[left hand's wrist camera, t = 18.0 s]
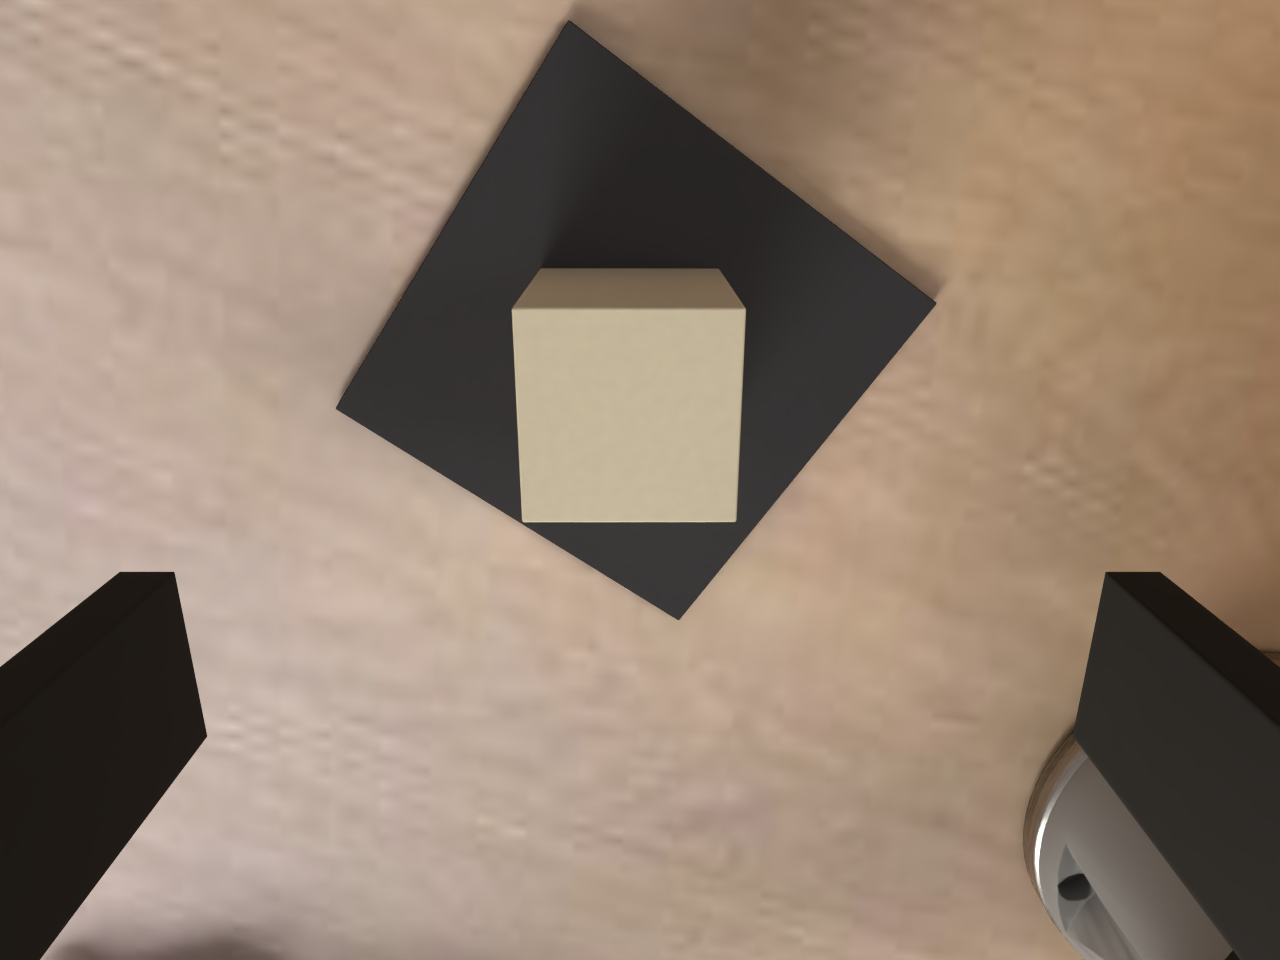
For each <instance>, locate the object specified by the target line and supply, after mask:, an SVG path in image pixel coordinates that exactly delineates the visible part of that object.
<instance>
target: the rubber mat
mask: <svg viewBox="0 0 1280 960" xmlns="http://www.w3.org/2000/svg"><path fill="white" fill-rule="evenodd" d="M541 268H667V269H719V270H720V271H721V273H722V274H723V276H724V277H725V279H726V280H727V282H728V283H729V285H730V286H731V288H732V289H733V291H734V292H735V294H736V295H737V296H738V298H739V299H740V301H741V302H742V304H743V305H744V307H745V309H746V321H745V343H744V365H743V387H742V409H741V430H740V452H739V474H738V496H737V518H736V522H523V521H522V508H521V487H520V467H519V447H518V427H517V406H516V386H515V366H514V345H513V325H512V308H513V306H514V305H515V303H516V302H517V301H518V299H519V298H520V297H521V295H522V294H523V292H524V291H525V290H526V288H527V287H528V285H529V284H530V283H531V281H532V280H533V279H534V277H535V276H536V274H537V273H538V272H539V270H540V269H541ZM935 305H936V302H935V301H933V300H932V299H931V298H929V297H928V296H927V295H926V294H924V293H923V292H922V291H920V290H919V289H918V288H916V287H915V286H914V285H913V284H911V283H910V282H909V281H907V280H906V279H905V278H903V277H902V276H901V275H900V274H898V273H897V272H896V271H894V270H893V269H892V268H890V267H889V266H888V265H887V264H885V263H884V262H883V261H881V260H880V259H879V258H877V257H876V256H875V255H874V254H872V253H871V252H870V251H868V250H867V249H866V248H864V247H863V246H862V245H861V244H859V243H858V242H857V241H855V240H854V239H853V238H852V237H850V236H849V235H848V234H846V233H845V232H844V231H842V230H841V229H840V228H839V227H837V226H836V225H835V224H833V223H832V222H831V221H829V220H828V219H827V218H826V217H824V216H823V215H822V214H820V213H819V212H818V211H816V210H815V209H814V208H813V207H811V206H810V205H809V204H807V203H806V202H805V201H803V200H802V199H801V198H800V197H798V196H797V195H796V194H794V193H793V192H792V191H790V190H789V189H788V188H787V187H785V186H784V185H783V184H781V183H780V182H779V181H777V180H776V179H775V178H774V177H772V176H771V175H770V174H768V173H767V172H766V171H764V170H763V169H762V168H761V167H759V166H758V165H757V164H755V163H754V162H753V161H751V160H750V159H749V158H748V157H746V156H745V155H744V154H742V153H741V152H740V151H738V150H737V149H736V148H735V147H733V146H732V145H731V144H729V143H728V142H727V141H725V140H724V139H723V138H722V137H720V136H719V135H718V134H716V133H715V132H714V131H712V130H711V129H710V128H709V127H707V126H706V125H705V124H703V123H702V122H701V121H699V120H698V119H697V118H696V117H694V116H693V115H692V114H690V113H689V112H688V111H687V110H685V109H684V108H683V107H681V106H680V105H679V104H677V103H676V102H675V101H674V100H672V99H671V98H670V97H668V96H667V95H666V94H664V93H663V92H662V91H661V90H659V89H658V88H657V87H655V86H654V85H653V84H651V83H650V82H649V81H648V80H646V79H645V78H644V77H642V76H641V75H640V74H638V73H637V72H636V71H635V70H633V69H632V68H631V67H629V66H628V65H627V64H625V63H624V62H623V61H622V60H620V59H619V58H618V57H616V56H615V55H614V54H612V53H611V52H610V51H609V50H607V49H606V48H605V47H603V46H602V45H601V44H599V43H598V42H597V41H596V40H594V39H593V38H592V37H590V36H589V35H588V34H586V33H585V32H584V31H583V30H581V29H580V28H579V27H577V26H576V25H575V24H573V23H572V22H571V21H568V22H567V24H566V25H565V27H564V29H563V30H562V32H561V34H560V35H559V37H558V39H557V40H556V42H555V44H554V45H553V47H552V49H551V50H550V52H549V54H548V55H547V57H546V59H545V60H544V62H543V64H542V65H541V67H540V69H539V70H538V72H537V74H536V75H535V77H534V79H533V80H532V82H531V84H530V85H529V87H528V89H527V90H526V92H525V94H524V95H523V97H522V99H521V100H520V102H519V104H518V105H517V107H516V109H515V110H514V112H513V114H512V115H511V117H510V119H509V120H508V122H507V124H506V125H505V127H504V129H503V130H502V132H501V134H500V135H499V137H498V139H497V140H496V142H495V144H494V145H493V147H492V149H491V150H490V152H489V154H488V155H487V157H486V159H485V160H484V162H483V164H482V165H481V167H480V169H479V170H478V172H477V174H476V175H475V177H474V179H473V180H472V182H471V184H470V185H469V187H468V189H467V190H466V192H465V194H464V195H463V197H462V199H461V200H460V202H459V204H458V205H457V207H456V209H455V210H454V212H453V214H452V215H451V217H450V219H449V220H448V222H447V224H446V225H445V227H444V229H443V230H442V232H441V234H440V235H439V237H438V239H437V240H436V242H435V244H434V245H433V247H432V249H431V250H430V252H429V254H428V255H427V257H426V259H425V260H424V262H423V264H422V265H421V267H420V269H419V270H418V272H417V274H416V275H415V277H414V279H413V280H412V282H411V284H410V285H409V287H408V289H407V290H406V292H405V294H404V295H403V297H402V299H401V300H400V302H399V304H398V305H397V307H396V309H395V310H394V312H393V314H392V315H391V317H390V319H389V320H388V322H387V324H386V325H385V327H384V329H383V330H382V332H381V334H380V335H379V337H378V339H377V340H376V342H375V344H374V345H373V347H372V349H371V350H370V352H369V354H368V355H367V357H366V359H365V360H364V362H363V364H362V365H361V367H360V369H359V370H358V372H357V374H356V375H355V377H354V379H353V380H352V382H351V384H350V385H349V387H348V389H347V390H346V392H345V394H344V395H343V397H342V399H341V400H340V402H339V404H338V405H337V407H336V409H337V410H338V411H340V412H342V413H343V414H345V415H347V416H348V417H350V418H351V419H353V420H355V421H356V422H358V423H360V424H361V425H363V426H364V427H366V428H368V429H369V430H371V431H372V432H374V433H376V434H377V435H379V436H381V437H382V438H384V439H385V440H387V441H389V442H390V443H392V444H394V445H395V446H397V447H398V448H400V449H402V450H403V451H405V452H407V453H408V454H410V455H411V456H413V457H415V458H416V459H418V460H420V461H421V462H423V463H424V464H426V465H428V466H429V467H431V468H432V469H434V470H436V471H437V472H439V473H441V474H442V475H444V476H445V477H447V478H449V479H450V480H452V481H454V482H455V483H457V484H458V485H460V486H462V487H463V488H465V489H467V490H468V491H470V492H471V493H473V494H475V495H476V496H478V497H479V498H481V499H483V500H484V501H486V502H488V503H489V504H491V505H492V506H494V507H496V508H497V509H499V510H501V511H502V512H504V513H505V514H507V515H509V516H510V517H512V518H514V519H515V520H517V521H518V522H520V523H522V524H523V525H525V526H526V527H528V528H530V529H531V530H533V531H535V532H536V533H538V534H539V535H541V536H543V537H544V538H546V539H548V540H549V541H551V542H552V543H554V544H556V545H557V546H559V547H561V548H562V549H564V550H565V551H567V552H569V553H570V554H572V555H574V556H575V557H577V558H578V559H580V560H582V561H583V562H585V563H586V564H588V565H590V566H591V567H593V568H595V569H596V570H598V571H599V572H601V573H603V574H604V575H606V576H608V577H609V578H611V579H612V580H614V581H616V582H617V583H619V584H621V585H622V586H624V587H625V588H627V589H629V590H630V591H632V592H633V593H635V594H637V595H638V596H640V597H642V598H643V599H645V600H646V601H648V602H650V603H651V604H653V605H655V606H656V607H658V608H659V609H661V610H663V611H664V612H666V613H668V614H669V615H671V616H672V617H674V618H676V619H677V620H679V619H680V618H681V617H682V616H683V615H684V613H685V612H686V611H687V610H688V608H689V607H690V606H691V605H692V603H693V602H694V601H695V600H696V599H697V597H698V596H699V595H700V594H701V592H702V591H703V590H704V589H705V587H706V586H707V585H708V584H709V583H710V581H711V580H712V579H713V578H714V576H715V575H716V574H717V573H718V572H719V570H720V569H721V568H722V567H723V565H724V564H725V563H726V562H727V560H728V559H729V558H730V557H731V556H732V554H733V553H734V552H735V551H736V549H737V548H738V547H739V546H740V544H741V543H742V542H743V541H744V540H745V538H746V537H747V536H748V535H749V533H750V532H751V531H752V530H753V529H754V527H755V526H756V525H757V524H758V522H759V521H760V520H761V519H762V517H763V516H764V515H765V514H766V513H767V511H768V510H769V509H770V508H771V506H772V505H773V504H774V503H775V501H776V500H777V499H778V498H779V497H780V495H781V494H782V493H783V492H784V490H785V489H786V488H787V487H788V486H789V484H790V483H791V482H792V481H793V479H794V478H795V477H796V476H797V474H798V473H799V472H800V471H801V470H802V468H803V467H804V466H805V465H806V463H807V462H808V461H809V460H810V458H811V457H812V456H813V455H814V454H815V452H816V451H817V450H818V449H819V447H820V446H821V445H822V444H823V443H824V441H825V440H826V439H827V438H828V436H829V435H830V434H831V433H832V431H833V430H834V429H835V428H836V427H837V425H838V424H839V423H840V422H841V420H842V419H843V418H844V417H845V415H846V414H847V413H848V412H849V411H850V409H851V408H852V407H853V406H854V404H855V403H856V402H857V401H858V400H859V398H860V397H861V396H862V395H863V393H864V392H865V391H866V390H867V388H868V387H869V386H870V385H871V384H872V382H873V381H874V380H875V379H876V377H877V376H878V375H879V374H880V372H881V371H882V370H883V369H884V368H885V366H886V365H887V364H888V363H889V361H890V360H891V359H892V358H893V357H894V355H895V354H896V353H897V352H898V350H899V349H900V348H901V347H902V345H903V344H904V343H905V342H906V341H907V339H908V338H909V337H910V336H911V334H912V333H913V332H914V331H915V329H916V328H917V327H918V326H919V325H920V323H921V322H922V321H923V320H924V318H925V317H926V316H927V315H928V314H929V312H930V311H931V310H932V309H933V307H934V306H935Z"/></svg>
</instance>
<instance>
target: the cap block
mask: <svg viewBox="0 0 1280 960" xmlns="http://www.w3.org/2000/svg"><path fill="white" fill-rule="evenodd" d="M745 321H746V309H745V307H744V305H743V304H742V302H741V301H740V299H739V298H738V296H737V295H736V294H735V292H734V291H733V289H732V288H731V286H730V285H729V283H728V282H727V280H726V279H725V277H724V276H723V274H722V273H721V271H720V270H719V269H667V268H541V269H540V270H539V272H538V273H537V274H536V276H535V277H534V279H533V280H532V281H531V283H530V284H529V285H528V287H527V288H526V290H525V291H524V292H523V294H522V295H521V297H520V298H519V299H518V301H517V302H516V303H515V305H514V306H513V308H512V325H513V345H514V366H515V386H516V406H517V427H518V447H519V467H520V487H521V508H522V521H523V522H736V518H737V496H738V474H739V452H740V430H741V409H742V387H743V365H744V343H745Z"/></svg>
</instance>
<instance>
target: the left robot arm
mask: <svg viewBox="0 0 1280 960" xmlns="http://www.w3.org/2000/svg"><path fill="white" fill-rule="evenodd" d="M206 737H207V733H206V728H205V723H204V718H203V713H202V708H201V703H200V698H199V693H198V688H197V683H196V678H195V673H194V668H193V663H192V658H191V653H190V648H189V643H188V638H187V633H186V628H185V623H184V618H183V613H182V608H181V603H180V598H179V593H178V588H177V583H176V578H175V573H174V572H119V573H118V574H117V575H115V576H114V577H113V578H112V579H110V580H109V581H108V582H107V583H105V584H104V585H103V586H102V587H100V588H99V589H98V590H97V591H95V592H94V593H93V594H92V595H90V596H89V597H88V598H87V599H85V600H84V601H83V602H82V603H80V604H79V605H78V606H76V607H75V608H74V609H73V610H71V611H70V612H69V613H68V614H66V615H65V616H64V617H63V618H61V619H60V620H59V621H58V622H56V623H55V624H54V625H53V626H51V627H50V628H49V629H48V630H46V631H45V632H44V633H43V634H41V635H40V636H39V637H37V638H36V639H35V640H34V641H32V642H31V643H30V644H29V645H27V646H26V647H25V648H24V649H22V650H21V651H20V652H19V653H17V654H16V655H15V656H14V657H12V658H11V659H10V660H9V661H7V662H6V663H5V664H4V665H2V666H1V667H0V960H40V959H41V957H42V956H43V955H44V953H45V952H46V951H47V949H48V948H49V947H50V945H51V944H52V943H53V941H54V940H55V939H56V937H57V936H58V935H59V933H60V932H61V931H62V929H63V928H64V927H65V925H66V924H67V923H68V921H69V920H70V919H71V917H72V916H73V915H74V913H75V912H76V911H77V909H78V908H79V907H80V905H81V904H82V903H83V901H84V900H85V899H86V897H87V896H88V895H89V893H90V892H91V891H92V889H93V888H94V887H95V885H96V884H97V883H98V881H99V880H100V879H101V877H102V876H103V875H104V873H105V872H106V871H107V869H108V868H109V867H110V865H111V864H112V863H113V861H114V860H115V859H116V857H117V856H118V855H119V853H120V852H121V851H122V849H123V848H124V847H125V845H126V844H127V843H128V841H129V840H130V839H131V837H132V836H133V835H134V833H135V832H136V831H137V829H138V828H139V827H140V825H141V824H142V823H143V821H144V820H145V819H146V817H147V816H148V815H149V813H150V812H151V811H152V809H153V808H154V807H155V805H156V804H157V803H158V801H159V800H160V799H161V797H162V796H163V795H164V793H165V792H166V791H167V789H168V788H169V787H170V785H171V784H172V783H173V781H174V780H175V779H176V777H177V776H178V775H179V773H180V772H181V771H182V769H183V768H184V767H185V765H186V764H187V763H188V761H189V760H190V759H191V757H192V756H193V755H194V753H195V752H196V751H197V749H198V748H199V747H200V745H201V744H202V743H203V741H204V740H205V739H206ZM1023 848H1024V858H1025V862H1026V867H1027V871H1028V873H1029V876H1030V879H1031V881H1032V884H1033V886H1034V888H1035V889H1036V891H1037V893H1038V895H1039V897H1040V899H1041V901H1042V902H1043V904H1044V906H1045V908H1046V910H1047V912H1048V914H1049V915H1050V917H1051V919H1052V921H1053V922H1054V924H1055V925H1056V926H1057V928H1058V929H1059V931H1060V932H1061V933H1062V934H1063V935H1064V937H1065V938H1066V939H1067V941H1068V942H1069V943H1070V945H1071V946H1072V947H1073V948H1074V949H1075V951H1076V952H1077V953H1078V954H1079V955H1080V956H1081V957H1082V958H1083V959H1084V960H1280V654H1279V653H1261V652H1260V651H1259V650H1258V649H1256V648H1255V647H1254V646H1253V645H1251V644H1250V643H1249V642H1248V641H1246V640H1245V639H1244V638H1243V637H1241V636H1240V635H1239V634H1237V633H1236V632H1235V631H1234V630H1232V629H1231V628H1230V627H1229V626H1227V625H1226V624H1225V623H1224V622H1222V621H1221V620H1220V619H1219V618H1217V617H1216V616H1215V615H1214V614H1212V613H1211V612H1210V611H1209V610H1207V609H1206V608H1205V607H1204V606H1202V605H1201V604H1200V603H1198V602H1197V601H1196V600H1195V599H1193V598H1192V597H1191V596H1190V595H1188V594H1187V593H1186V592H1185V591H1183V590H1182V589H1181V588H1180V587H1178V586H1177V585H1176V584H1175V583H1173V582H1172V581H1171V580H1170V579H1168V578H1167V577H1166V576H1165V575H1163V574H1162V573H1161V572H1106V573H1105V578H1104V583H1103V588H1102V593H1101V598H1100V603H1099V608H1098V613H1097V618H1096V623H1095V628H1094V633H1093V638H1092V643H1091V648H1090V653H1089V658H1088V663H1087V668H1086V673H1085V678H1084V683H1083V688H1082V693H1081V698H1080V703H1079V708H1078V713H1077V718H1076V723H1075V728H1074V732H1073V733H1072V734H1071V735H1070V736H1069V737H1068V738H1067V739H1066V740H1065V742H1064V743H1063V744H1062V745H1061V746H1060V748H1059V749H1058V750H1057V751H1056V753H1055V754H1054V755H1053V757H1052V758H1051V760H1050V761H1049V763H1048V764H1047V766H1046V767H1045V769H1044V771H1043V772H1042V774H1041V776H1040V778H1039V780H1038V782H1037V784H1036V786H1035V789H1034V791H1033V793H1032V796H1031V798H1030V802H1029V805H1028V809H1027V812H1026V817H1025V823H1024V832H1023Z"/></svg>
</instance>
